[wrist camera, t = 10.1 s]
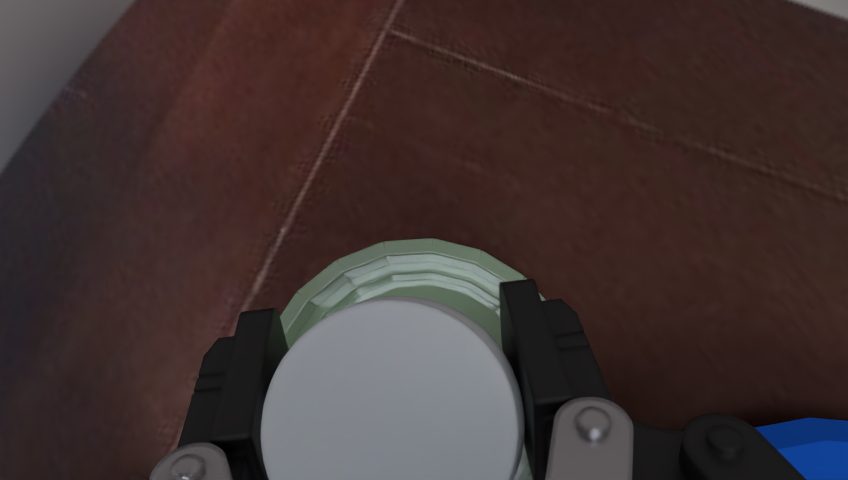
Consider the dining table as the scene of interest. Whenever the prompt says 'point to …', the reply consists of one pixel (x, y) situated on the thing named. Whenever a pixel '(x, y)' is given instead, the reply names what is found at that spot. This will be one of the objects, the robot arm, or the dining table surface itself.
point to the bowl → (408, 287)
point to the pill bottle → (393, 398)
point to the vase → (812, 446)
